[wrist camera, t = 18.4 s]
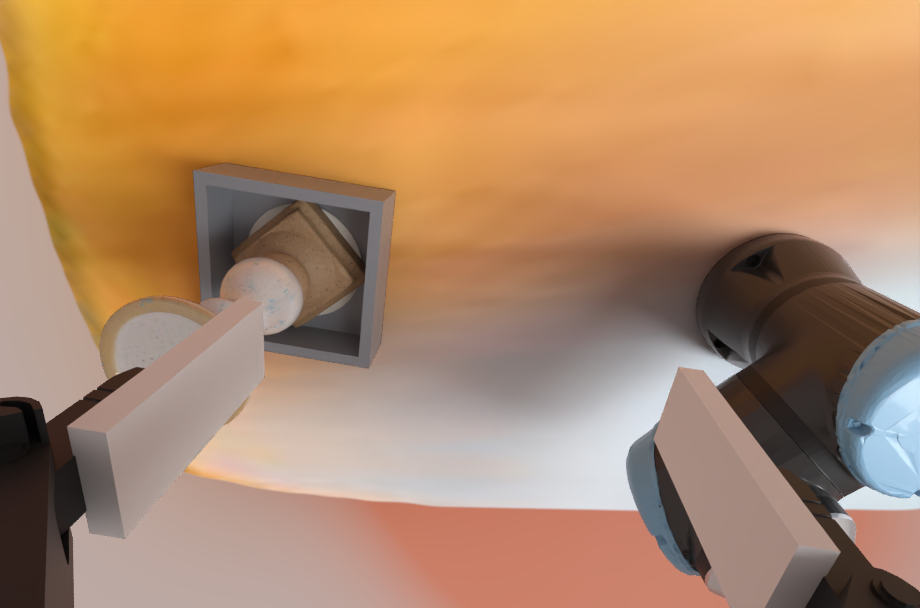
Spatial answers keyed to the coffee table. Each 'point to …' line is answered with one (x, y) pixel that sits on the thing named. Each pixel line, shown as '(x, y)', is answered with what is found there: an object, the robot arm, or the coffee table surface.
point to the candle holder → (245, 289)
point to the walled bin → (351, 211)
